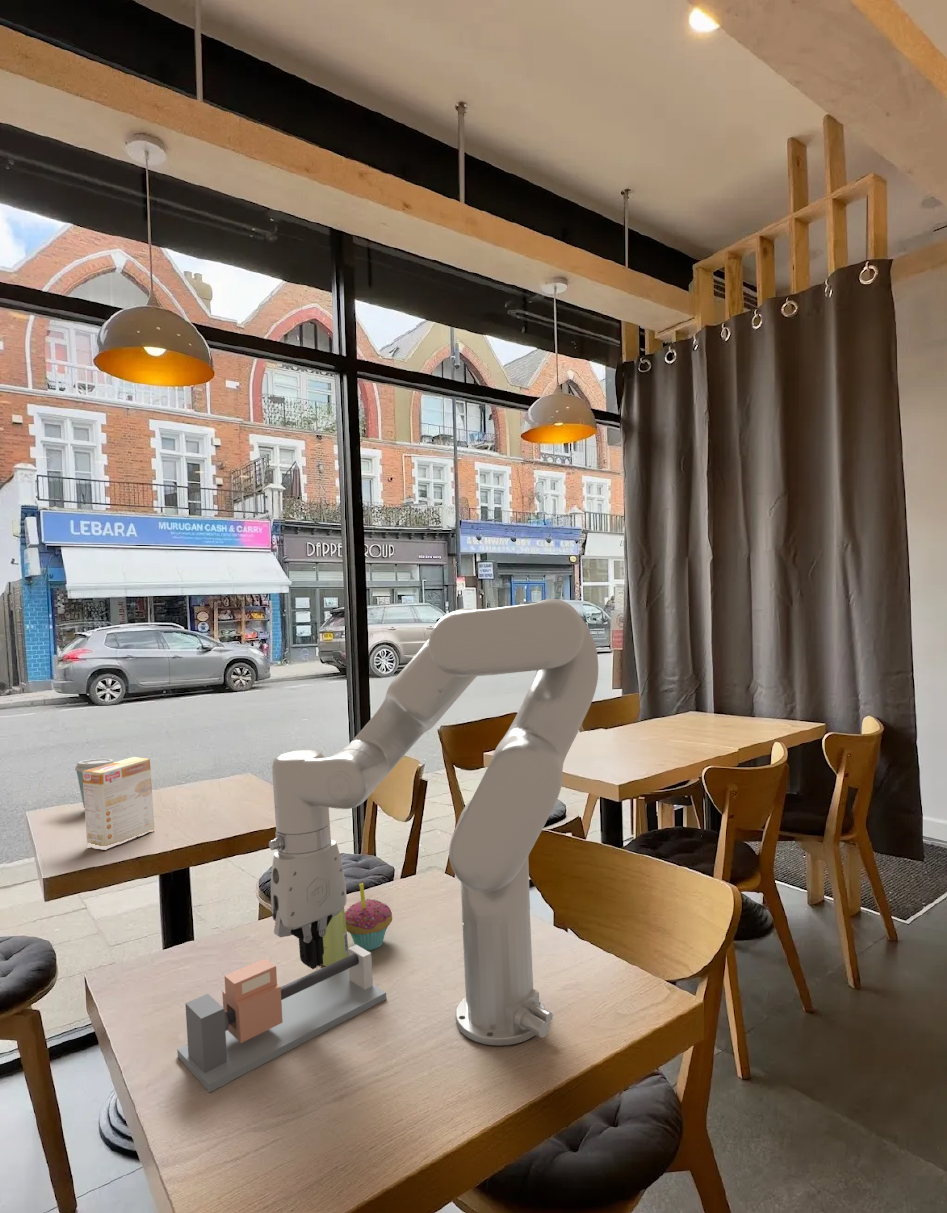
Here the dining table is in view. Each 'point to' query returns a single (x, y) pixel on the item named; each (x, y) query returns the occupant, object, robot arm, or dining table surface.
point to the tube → (335, 940)
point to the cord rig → (304, 1016)
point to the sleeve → (253, 999)
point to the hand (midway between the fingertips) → (312, 963)
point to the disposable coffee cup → (86, 766)
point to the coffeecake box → (118, 801)
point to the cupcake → (368, 922)
